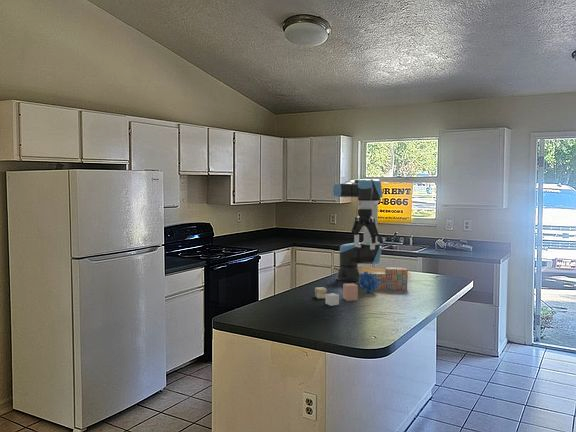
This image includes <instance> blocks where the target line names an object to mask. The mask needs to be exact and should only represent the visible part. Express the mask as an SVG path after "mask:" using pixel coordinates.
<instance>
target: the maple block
mask: <svg viewBox="0 0 576 432" xmlns="http://www.w3.org/2000/svg"><path fill="white" fill-rule="evenodd" d="M326 294H328V291H327V288H326V287H324V286H323V287H314V297H315V298H317V299H319V300H320V299H326Z"/></svg>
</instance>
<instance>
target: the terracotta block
mask: <svg viewBox="0 0 576 432" xmlns="http://www.w3.org/2000/svg"><path fill="white" fill-rule="evenodd" d="M358 287H359V286H358V284H356V283H353V282H352V283H350V282H349V283H342V299H344V300H345V301H347V302H349V301H358V300H359V299H358V297H359V296H358V292H359V289H358Z"/></svg>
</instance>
